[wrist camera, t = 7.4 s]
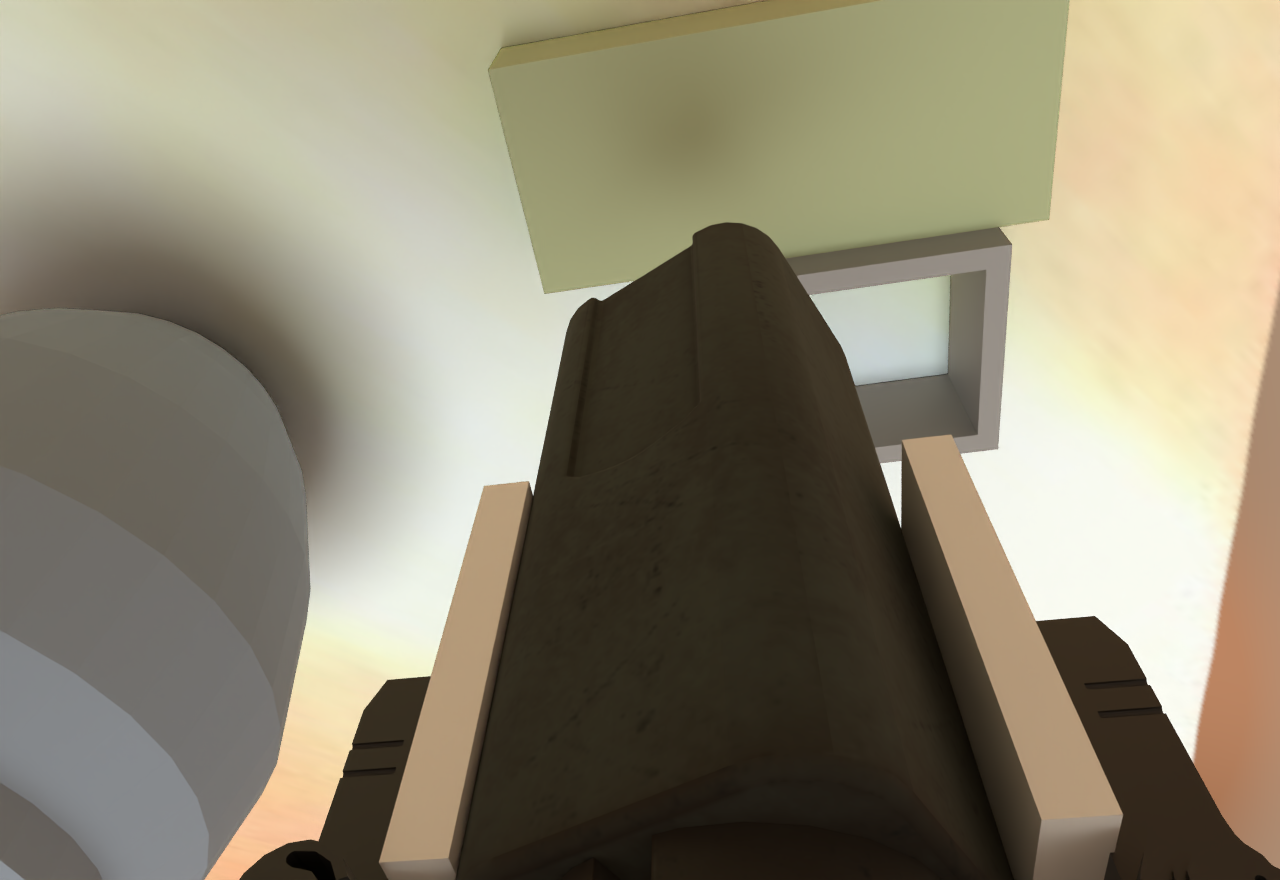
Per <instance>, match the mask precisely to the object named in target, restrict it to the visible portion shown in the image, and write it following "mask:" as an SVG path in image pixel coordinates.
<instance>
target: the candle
mask: <svg viewBox="0 0 1280 880" xmlns="http://www.w3.org/2000/svg"><path fill="white" fill-rule="evenodd" d="M692 240H693V243H692V245H691V246H690V247H688V248H687V249H685V250H683V251H682V252H680V253H679V254H677V255H675V256H674V257H672V258H671V259H669V260H667V261H666V262H664V263H663V264H661V265H659V266H658V267H656V268H655V269H653V270H651V271H650V272H648V273H647V274H645V275H643V276H642V277H640V278H639V279H637V280H635V281H634V282H632V283H631V284H629V285H627V286H626V287H624V288H623V289H621V290H619V291H618V292H616V293H614V294H613V295H611V296H610V297H608V298H606V299H605V300H603V301H599V300H598V299H596V298H591V299H589V300H588V301H587V302H585V303H584V304H583V305H582V306H581V307H579V308H578V309H577V311H576V312H575V314H574V315H573V317H572V318H571V320H570V323H569V326H568V329H567V332H566V337H565V342H564V347H563V352H562V357H561V362H560V367H559V372H558V377H557V381H556V386H555V391H554V396H553V401H552V406H551V411H550V416H549V421H548V426H547V431H546V436H545V441H544V445H543V450H542V455H541V460H540V465H539V470H538V475H537V480H536V485H535V490H534V495H533V500H532V505H531V509H530V514H529V519H528V524H527V529H526V534H525V539H524V544H523V549H522V554H521V559H520V564H519V569H518V573H517V578H516V583H515V588H514V593H513V598H512V603H511V608H510V613H509V618H508V623H507V628H506V633H505V637H504V642H503V647H502V652H501V657H500V662H499V667H498V672H497V677H496V682H495V687H494V692H493V697H492V701H491V706H490V711H489V716H488V721H487V726H486V731H485V736H484V741H483V746H482V751H481V756H480V761H479V765H478V770H477V775H476V780H475V785H474V790H473V795H472V800H471V805H470V810H469V815H468V820H467V825H466V829H465V834H464V839H463V844H462V849H461V854H460V859H459V864H458V869H457V874H456V879H455V880H1014V878H1013V875H1012V872H1011V869H1010V866H1009V863H1008V859H1007V856H1006V853H1005V850H1004V847H1003V844H1002V841H1001V838H1000V835H999V832H998V828H997V825H996V822H995V819H994V816H993V813H992V810H991V807H990V804H989V800H988V797H987V794H986V791H985V788H984V785H983V782H982V779H981V776H980V773H979V769H978V766H977V763H976V760H975V757H974V754H973V751H972V748H971V745H970V741H969V738H968V735H967V732H966V729H965V726H964V723H963V720H962V717H961V714H960V710H959V707H958V704H957V701H956V698H955V695H954V692H953V689H952V686H951V683H950V679H949V676H948V673H947V670H946V667H945V664H944V661H943V658H942V655H941V651H940V648H939V645H938V642H937V639H936V636H935V633H934V630H933V627H932V624H931V620H930V617H929V614H928V611H927V608H926V605H925V602H924V599H923V596H922V592H921V589H920V586H919V583H918V580H917V577H916V574H915V571H914V568H913V565H912V561H911V558H910V555H909V552H908V549H907V546H906V543H905V540H904V537H903V533H902V530H901V527H900V524H899V521H898V518H897V515H896V512H895V509H894V506H893V502H892V499H891V496H890V493H889V490H888V487H887V484H886V481H885V478H884V475H883V471H882V468H881V465H880V462H879V459H878V456H877V453H876V450H875V447H874V443H873V440H872V437H871V434H870V431H869V428H868V425H867V422H866V419H865V416H864V412H863V409H862V406H861V403H860V400H859V397H858V394H857V391H856V388H855V384H854V381H853V378H852V375H851V372H850V369H849V366H848V363H847V360H846V357H845V354H844V352H843V350H842V348H841V345H840V344H839V342H838V341H837V339H836V338H835V336H834V334H833V333H832V331H831V330H830V328H829V326H828V325H827V323H826V322H825V320H824V319H823V317H822V315H821V314H820V312H819V311H818V309H817V308H816V306H815V304H814V303H813V301H812V300H811V298H810V296H809V295H808V293H807V292H806V290H805V289H804V287H803V285H802V284H801V282H800V281H799V279H798V278H797V276H796V274H795V273H794V271H793V270H792V268H791V266H790V265H789V263H788V262H787V260H786V259H785V257H784V255H783V254H782V252H781V251H780V249H779V248H778V246H777V245H776V244H775V243H774V242H773V240H772V239H771V238H770V237H769V236H768V235H766V234H765V233H763V232H762V231H760V230H759V229H757V228H755V227H752V226H749V225H746V224H743V223H731V222H725V223H720V224H714V225H710V226H708V227H706V228H704V229H702V230H699V231H697V232H696V233H694V234H693V237H692Z"/></svg>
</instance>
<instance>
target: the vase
mask: <svg viewBox="0 0 1280 880" xmlns="http://www.w3.org/2000/svg"><path fill="white" fill-rule="evenodd" d="M309 597H310V571H309V551H308V530H307V509H306V495H305V488H304V482H303V475H302V470H301V467H300V465H299V462H298V460H297V457H296V454H295V452H294V449H293V447H292V444H291V442H290V439H289V437H288V434H287V432H286V429H285V426H284V424H283V421H282V419H281V416H280V414H279V411H278V409H277V407H276V405H275V404H274V402H273V401H272V399H271V398H270V396H269V394H268V393H267V391H266V390H265V388H264V387H263V386H262V384H261V383H260V382H259V381H258V380H257V379H256V378H255V377H254V376H253V374H252V373H251V372H250V371H249V370H248V369H247V368H246V367H245V366H244V365H243V364H242V363H240V362H239V361H238V360H237V359H235V358H234V357H233V356H232V355H230V354H229V353H228V352H227V351H226V350H224V349H223V348H221V347H220V346H218V345H216V344H215V343H213V342H211V341H210V340H208V339H206V338H205V337H203V336H201V335H200V334H198V333H196V332H194V331H191V330H189V329H187V328H184V327H182V326H179V325H177V324H175V323H172V322H170V321H167V320H163V319H159V318H155V317H151V316H147V315H143V314H138V313H127V312H116V311H102V310H85V309H68V308H49V309H38V310H26V311H17V312H13V313H8V314H3V315H0V880H204V879H205V878H206V876H207V875H208V873H209V872H210V870H211V869H212V867H213V866H214V864H215V863H216V861H217V860H218V858H219V857H220V856H221V854H222V853H223V851H224V850H225V848H226V847H227V845H228V844H229V842H230V841H231V839H232V838H233V836H234V835H235V833H236V832H237V830H238V829H239V827H240V826H241V824H242V823H243V821H244V820H245V818H246V817H247V815H248V814H249V812H250V811H251V809H252V808H253V806H254V805H255V804H256V802H257V801H258V799H259V798H260V796H261V795H262V793H263V791H264V789H265V787H266V785H267V783H268V781H269V779H270V776H271V774H272V772H273V770H274V768H275V766H276V764H277V760H278V755H279V750H280V745H281V741H282V736H283V731H284V726H285V721H286V717H287V712H288V707H289V702H290V697H291V693H292V688H293V683H294V678H295V673H296V668H297V664H298V659H299V654H300V649H301V644H302V640H303V635H304V630H305V625H306V620H307V612H308V604H309Z"/></svg>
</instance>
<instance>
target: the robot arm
mask: <svg viewBox="0 0 1280 880" xmlns="http://www.w3.org/2000/svg"><path fill="white" fill-rule="evenodd" d="M532 500H533V494H532V491H531V487H530V483H529V481H526V482H517V483H508V484H499V485H490V486H484V488H483V492H482V495H481V499H480V502H479V506H478V509H477V513H476V517H475V520H474V524H473V527H472V531H471V535H470V538H469V542H468V545H467V549H466V552H465V556H464V560H463V563H462V567H461V570H460V574H459V578H458V581H457V585H456V588H455V592H454V595H453V599H452V603H451V606H450V610H449V613H448V617H447V621H446V624H445V628H444V631H443V635H442V638H441V642H440V646H439V649H438V653H437V656H436V660H435V663H434V667H433V671H432V674H431V676H428V677H417V678H406V679H394V680H387V681H386V683H385V684H384V685H383V686H382V688H381V689H380V690H379V692H378V693H377V694H376V695H375V697H374V698H373V699H372V700H371V702H370V703H369V704H368V706H367V707H366V708H365V709H364V711H363V714H362V717H361V719H360V722H359V725H358V728H357V731H356V734H355V737H354V740H353V743H352V745H353V748H352V750H350V751H349V754H348V757H347V760H346V763H345V766H344V769H343V778H340V781H339V783H338V786H337V789H336V792H335V795H334V798H333V801H332V804H331V807H330V810H329V813H328V815H327V818H326V821H325V824H324V827H323V830H322V833H321V836H320V839H319V841H315V840H305V841H299V842H293V843H288V844H286V845H284V846H282V847H280V848H278V849H276V850H274V851H272V852H270V853H268V854H266V855H264V856H263V857H262V858H261V859H260V860H258V861H257V862H256V863H255V864H254V865H253V866H252V867H250V868H249V869H248V870H247V871H246V872H245V873H244V874H243V875H242V877H241V878H240V880H455V879H456V874H457V869H458V864H459V859H460V854H461V849H462V844H463V839H464V834H465V829H466V825H467V820H468V815H469V810H470V805H471V800H472V795H473V790H474V785H475V780H476V775H477V770H478V765H479V761H480V756H481V751H482V746H483V741H484V736H485V731H486V726H487V721H488V716H489V711H490V706H491V701H492V697H493V692H494V687H495V682H496V677H497V672H498V667H499V662H500V657H501V652H502V647H503V642H504V637H505V633H506V628H507V623H508V618H509V613H510V608H511V603H512V598H513V593H514V588H515V583H516V578H517V573H518V569H519V564H520V559H521V554H522V549H523V544H524V539H525V534H526V529H527V524H528V519H529V514H530V509H531V505H532ZM901 530H902V533H903V537H904V540H905V543H906V546H907V549H908V552H909V555H910V558H911V561H912V565H913V568H914V571H915V574H916V577H917V580H918V583H919V586H920V589H921V592H922V596H923V599H924V602H925V605H926V608H927V611H928V614H929V617H930V620H931V624H932V627H933V630H934V633H935V636H936V639H937V642H938V645H939V648H940V651H941V655H942V658H943V661H944V664H945V667H946V670H947V673H948V676H949V679H950V683H951V686H952V689H953V692H954V695H955V698H956V701H957V704H958V707H959V710H960V714H961V717H962V720H963V723H964V726H965V729H966V732H967V735H968V738H969V741H970V745H971V748H972V751H973V754H974V757H975V760H976V763H977V766H978V769H979V773H980V776H981V779H982V782H983V785H984V788H985V791H986V794H987V797H988V800H989V804H990V807H991V810H992V813H993V816H994V819H995V822H996V825H997V828H998V832H999V835H1000V838H1001V841H1002V844H1003V847H1004V850H1005V853H1006V856H1007V859H1008V863H1009V866H1010V869H1011V872H1012V875H1013V878H1014V880H1280V869H1278V868H1276V867H1274V866H1273V865H1271V864H1270V863H1269V862H1268V861H1267V859H1266V858H1265V857H1264V856H1263V855H1262V854H1260V853H1258V852H1257V851H1255V850H1254V849H1252V848H1251V847H1249V846H1248V845H1246V844H1244V843H1243V842H1242V841H1241V840H1240V839H1239V838H1238V837H1237V836H1236V835H1235V834H1234V832H1233V831H1232V829H1231V828H1230V827H1229V825H1228V824H1227V823H1226V821H1225V819H1224V818H1223V817H1222V815H1221V813H1220V811H1219V809H1218V808H1217V806H1216V804H1215V802H1214V800H1213V799H1212V797H1211V795H1210V793H1209V791H1208V790H1207V788H1206V786H1205V784H1204V782H1203V780H1202V779H1201V777H1200V775H1199V773H1198V771H1197V770H1196V768H1195V766H1194V764H1193V762H1192V760H1191V758H1190V757H1189V755H1188V753H1187V751H1186V749H1185V748H1184V746H1183V744H1182V742H1181V740H1180V738H1179V737H1178V735H1177V733H1176V731H1175V729H1174V728H1173V726H1172V724H1171V722H1170V720H1169V719H1168V717H1167V715H1166V714H1164V713H1163V711H1162V706H1161V704H1160V702H1159V700H1158V699H1157V697H1156V695H1155V693H1154V691H1153V689H1152V688H1151V686H1150V685H1148V684H1147V681H1146V677H1145V675H1144V673H1143V671H1142V669H1141V668H1140V666H1139V664H1138V662H1137V660H1136V659H1135V657H1134V655H1133V653H1132V651H1131V649H1130V648H1129V646H1128V644H1127V643H1126V642H1124V641H1123V640H1122V639H1121V638H1120V637H1119V636H1117V635H1116V634H1115V633H1114V632H1113V631H1112V630H1110V629H1109V628H1108V627H1107V626H1106V625H1105V624H1103V623H1102V622H1101V621H1100V620H1099V619H1098V618H1096V617H1095V616H1090V617H1079V618H1068V619H1056V620H1045V621H1035V618H1034V616H1033V614H1032V612H1031V610H1030V607H1029V605H1028V603H1027V601H1026V599H1025V596H1024V594H1023V592H1022V590H1021V588H1020V585H1019V583H1018V581H1017V579H1016V576H1015V574H1014V572H1013V570H1012V568H1011V565H1010V563H1009V561H1008V559H1007V557H1006V554H1005V552H1004V550H1003V548H1002V545H1001V543H1000V541H999V539H998V537H997V534H996V532H995V530H994V528H993V526H992V523H991V521H990V519H989V517H988V514H987V512H986V510H985V508H984V506H983V503H982V501H981V499H980V497H979V495H978V492H977V490H976V488H975V486H974V484H973V481H972V479H971V477H970V475H969V472H968V470H967V468H966V466H965V464H964V461H963V459H962V457H961V455H960V453H959V450H958V448H957V446H956V444H955V441H954V439H953V437H952V435H943V436H933V437H924V438H915V439H906V440H902V508H901Z"/></svg>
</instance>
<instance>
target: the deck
mask: <svg viewBox="0 0 1280 880" xmlns="http://www.w3.org/2000/svg"><path fill="white" fill-rule="evenodd" d="M1068 10H1069V0H768V1H762V2H756V3H751V4H745V5H740V6H734V7H728V8H723V9H717V10H712V11H706V12H700V13H695V14H689V15H684V16H678V17H673V18H667V19H661V20H656V21H650V22H645V23H639V24H633V25H628V26H622V27H617V28H611V29H605V30H600V31H594V32H589V33H583V34H577V35H572V36H566V37H561V38H555V39H550V40H544V41H538V42H533V43H527V44H522V45H516V46H510V47H505V48H501V49H500V51H499V53H498V54H497V56H496V58H495V59H494V61H493V62H492V64H491V66H490V67H489V69H488V72H489V76H490V80H491V84H492V88H493V92H494V96H495V100H496V104H497V108H498V112H499V116H500V120H501V124H502V127H503V131H504V135H505V139H506V143H507V147H508V151H509V155H510V159H511V163H512V167H513V171H514V175H515V179H516V183H517V187H518V191H519V195H520V199H521V203H522V207H523V211H524V215H525V219H526V222H527V226H528V230H529V234H530V238H531V242H532V246H533V250H534V254H535V258H536V262H537V266H538V270H539V274H540V278H541V282H542V286H543V290H544V294H547V293H554V292H561V291H568V290H575V289H581V288H588V287H595V286H602V285H609V284H615V283H622V282H629V281H635V280H637V279H639V278H640V277H642V276H643V275H645V274H647V273H648V272H650V271H651V270H653V269H655V268H656V267H658V266H659V265H661V264H663V263H664V262H666V261H667V260H669V259H671V258H672V257H674V256H675V255H677V254H679V253H680V252H682V251H683V250H685V249H687V248H688V247H690V246H691V245H692V243H693V240H692V237H693V234H694V233H696V232H697V231H699V230H702V229H704V228H706V227H708V226H710V225H714V224H720V223H725V222H731V223H743V224H746V225H749V226H752V227H755V228H757V229H759V230H760V231H762V232H763V233H765V234H766V235H768V236H769V237H770V238H771V239H772V240H773V242H774V243H775V244H776V245H777V246H778V248H779V249H780V251H781V252H782V254H783V255H784V257H785V259H786V260H787V262H788V263H789V265H790V266H791V268H792V270H793V271H794V273H795V274H796V276H797V278H798V279H799V281H800V282H801V284H802V285H803V287H804V289H805V290H806V292H807V293H808V295H812V294H819V293H826V292H833V291H840V290H847V289H854V288H861V287H868V286H875V285H882V284H889V283H896V282H903V281H911V280H918V279H925V278H932V277H939V276H946V275H951V286H950V321H949V356H948V374H946V375H938V376H931V377H923V378H915V379H908V380H900V381H892V382H885V383H877V384H869V385H862V386H855V388H856V391H857V394H858V397H859V400H860V403H861V406H862V409H863V412H864V416H865V419H866V422H867V425H868V428H869V431H870V434H871V437H872V440H873V443H874V447H875V450H876V453H877V456H878V459H879V462H880V463H886V462H895V461H902V440H906V439H915V438H924V437H933V436H943V435H952V437H953V439H954V441H955V444H956V446H957V448H958V450H959V453H960V454H961V453H969V452H977V451H986V450H994V449H998V441H999V427H1000V412H1001V398H1002V383H1003V369H1004V355H1005V340H1006V326H1007V311H1008V297H1009V282H1010V268H1011V254H1012V244H1011V242H1010V241H1009V240H1008V239H1007V237H1006V236H1005V235H1004V233H1003V232H1002V231H1001V229H1000V228H999V227H1003V226H1010V225H1017V224H1023V223H1030V222H1037V221H1044V220H1049V215H1050V204H1051V194H1052V183H1053V172H1054V161H1055V150H1056V140H1057V129H1058V118H1059V107H1060V96H1061V85H1062V75H1063V64H1064V53H1065V42H1066V31H1067V21H1068Z"/></svg>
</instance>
